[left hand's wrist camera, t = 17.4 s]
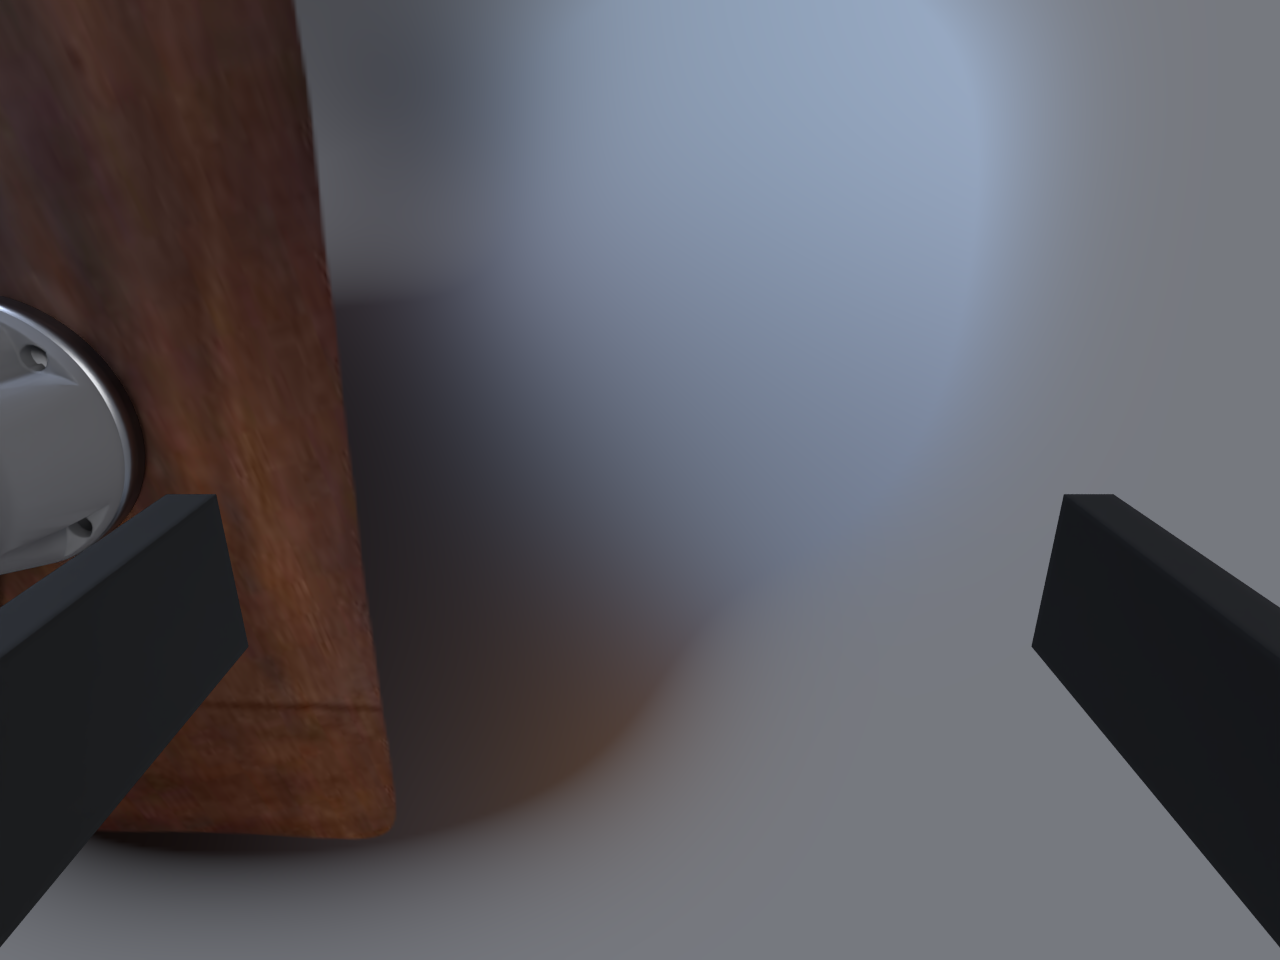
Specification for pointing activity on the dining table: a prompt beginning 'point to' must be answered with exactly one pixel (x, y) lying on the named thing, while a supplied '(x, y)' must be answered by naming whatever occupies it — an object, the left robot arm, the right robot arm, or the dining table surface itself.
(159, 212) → the dining table surface
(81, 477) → the left robot arm
